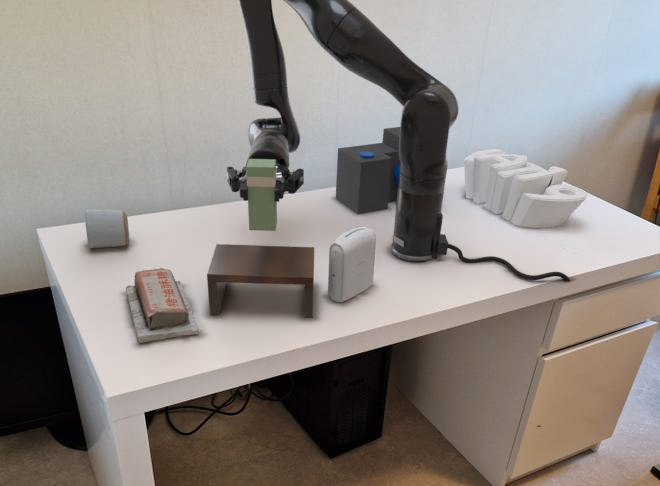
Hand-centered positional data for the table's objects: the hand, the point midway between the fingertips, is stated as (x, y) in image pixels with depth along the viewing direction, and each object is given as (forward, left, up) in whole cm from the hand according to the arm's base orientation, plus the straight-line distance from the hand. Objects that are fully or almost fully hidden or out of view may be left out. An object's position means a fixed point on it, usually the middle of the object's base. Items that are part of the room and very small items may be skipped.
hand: (261, 195), depth 108 cm
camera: (-29, -52, -21) cm, 63 cm away
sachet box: (0, -3, -7) cm, 7 cm away
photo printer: (-16, -6, -21) cm, 27 cm away
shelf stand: (0, -2, -21) cm, 21 cm away
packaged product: (+18, +4, -21) cm, 28 cm away
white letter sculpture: (-58, -52, -21) cm, 81 cm away
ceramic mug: (+34, -24, -21) cm, 46 cm away
